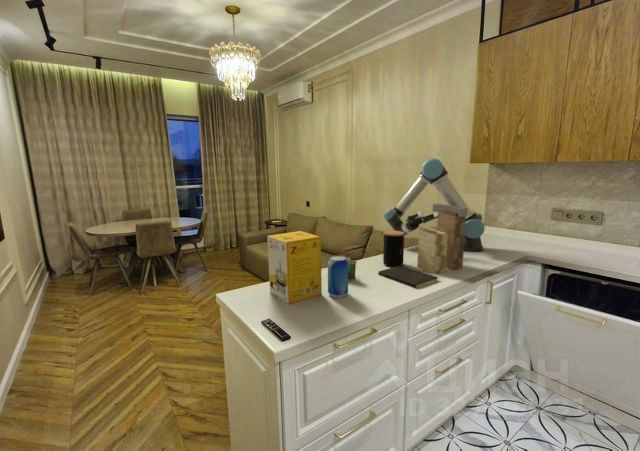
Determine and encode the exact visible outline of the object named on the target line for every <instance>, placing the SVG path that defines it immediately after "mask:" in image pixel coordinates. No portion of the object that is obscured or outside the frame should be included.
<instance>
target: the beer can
mask: <svg viewBox="0 0 640 451" xmlns="http://www.w3.org/2000/svg"><path fill="white" fill-rule="evenodd" d="M327 293H328V294H329V295H330V297H332V298H337V299H340V298H344V297H346V296H347V294H348V293H349V280H348V262H347V261H346V258H345V257H344V256H340V255H332V256H329V260H328V261H327Z"/></svg>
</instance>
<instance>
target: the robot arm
mask: <svg viewBox="0 0 640 451" xmlns="http://www.w3.org/2000/svg"><path fill="white" fill-rule="evenodd" d="M418 176H419V177H417V179H416V180H415V181H414V183H413V184H412V185H411V186H410V187H409V189H408V190H407V191H406V193H405V194H404V196H402V197H401V199H400V200H399V201H398V203H397V204H396V205H395V207H393V208H390V209H389V210H387V211H386V212H384V213H383V215H382V216H383V218H384V220H385V221H386V222H387V223H388V225H389V226H390V227H391V228H392V229H393V230H392V231H401V232H404V235H403V237H404V238H405V237H406V236H407V235H408V234H410V233H412V232H414V231H415V230H417V229H419V226H420V225H421V224H426V223H427V222H428V223H429V222H430V221H433V220H435V219H438V212H434V211H433V213H431V214H428V215H426V216H423V215H424V214H423V210H422V209H421V210H419V211H418V212H416V213H414V214H413V215H408V217H407V219H406V220H405V221H404V222H403V220H402V219H401V218H402V217H403V216H404V214H405V213H406V212H407V211H408V209H409V208H411V206H412V205H413V204H414V202H415V201H416V200H417V198H418V197H419V196H420V195H421V194H422V192H424V190H425V189H426V188H427V186H429V184H430V185H431V186H435V187H436V189H437V191H438V192H439V194H440V195H441V197H442V198H443V200H444V201H445V203H446V205H450V206H456V207H462V208H467V216H466V222H465V244H464V252H481V251H483V249H484V248H483V247H484V245H483V243H482V239H481V238H482V237H481V236H482V235H483V234H484V233H485V230H486V228H485V227H486V226H485V224H484V222H483V214H482V213H477V212H476V211H473V210H471V209H470V207H469V206H468V204H467V203H466V202H465V200H464V199H463V198H462V196H461V195H460V193H459V192H458V190H457V189H456V187H455V186H454V183H452V182H451V180H450V178H449V172H448V170H447V169H446V168H445V166H444V165H443V163H442V161H441V160H440V159H438V158H435V157H433V158H428V159H427V160H425V161H424V163H423V164H422V167H421V171H420V172H419V174H418Z"/></svg>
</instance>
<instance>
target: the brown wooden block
mask: <svg viewBox="0 0 640 451" xmlns="http://www.w3.org/2000/svg"><path fill="white" fill-rule="evenodd" d="M456 215H457V213H452V212H446V211H440V210H438V218H437V222H436V223H437V224H436V225H437V228H441V229H446V230H448V243H447V260H446V270H449V271H456V270H462V269H463V263H464V252H465V251H464V244H465V222H466V217H458V216H456Z"/></svg>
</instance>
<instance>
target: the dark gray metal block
mask: <svg viewBox="0 0 640 451" xmlns="http://www.w3.org/2000/svg"><path fill="white" fill-rule="evenodd" d="M438 210H440V211H446V212H452V213H457V215H456V216H458V217H466V216H467V208H462V207H456V206H450V205H448V204H442V203H433V204H432V212H433V213H434V212H438Z"/></svg>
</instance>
